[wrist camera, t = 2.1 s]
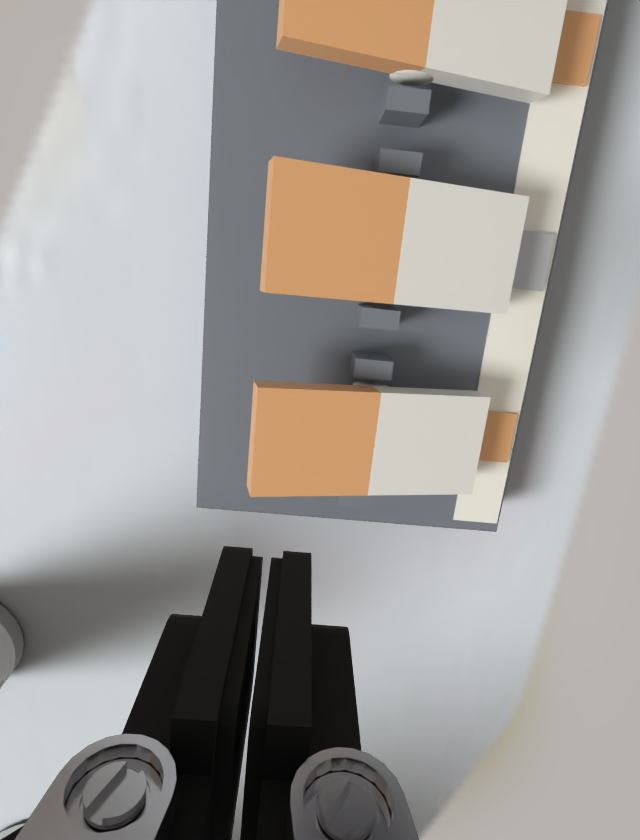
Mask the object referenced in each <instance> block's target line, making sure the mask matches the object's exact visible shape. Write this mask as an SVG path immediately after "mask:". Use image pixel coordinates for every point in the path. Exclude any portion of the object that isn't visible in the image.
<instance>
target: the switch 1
mask: <svg viewBox="0 0 640 840" xmlns="http://www.w3.org/2000/svg"><path fill="white" fill-rule="evenodd" d="M567 1H568V0H279V13H278V28H277V43H276V49H277V50H281V51H286V52H291V53H296V54H300V55H305V56H310V57H314V58H319V59H324V60H328V61H333V62H338V63H342V64H347V65H352V66H356V67H361V68H366V69H371V70H375V71H380V72H385V73H389V74H390V76H389V77H390V79H391V80H392V81H393V82H395V83H398V84H402V85H407V86H422V85H427V84H429V83H436V84H441V85H446V86H450V87H455V88H460V89H464V90H469V91H474V92H478V93H483V94H488V95H492V96H497V97H502V98H507V99H511V100H516V101H521V102H525V103H531V102H534V101H536V100H538V99H541V98H543V97H545V96H547V95H549V94H550V89H551V83H552V78H553V73H554V68H555V63H556V58H557V52H558V47H559V42H560V37H561V32H562V26H563V21H564V16H565V11H566V6H567Z"/></svg>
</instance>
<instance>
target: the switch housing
mask: <svg viewBox="0 0 640 840" xmlns="http://www.w3.org/2000/svg"><path fill="white" fill-rule="evenodd" d="M607 5H608V0H568V1H567V6H566V11H565V16H564V21H563V26H562V32H561V37H560V42H559V47H558V52H557V58H556V63H555V68H554V73H553V78H552V83H551V89H550V94H549V95H547V96H545V97H543V98H541V99H538V100H536V101H534V102H531V103H525V102H521V101H516V100H511V99H507V98H502V97H497V96H492V95H488V94H483V93H478V92H474V91H469V90H464V89H460V88H455V87H450V86H446V85H441V84H436V83H429V84H427V85H422V86H407V85H402V84H398V83H395V82H393V81H392V80H391V79H390V77H389V76H390V74H389V73H385V72H380V71H375V70H371V69H366V68H361V67H356V66H352V65H347V64H342V63H338V62H333V61H328V60H324V59H319V58H314V57H310V56H305V55H300V54H296V53H291V52H286V51H281V50H277V49H276V43H277V28H278V13H279V0H217V10H216V35H215V60H214V85H213V110H212V135H211V160H210V185H209V210H208V235H207V260H206V285H205V309H204V334H203V359H202V384H201V409H200V434H199V459H198V484H197V507H199V508H211V509H224V510H236V511H248V512H260V513H273V514H285V515H297V516H309V517H322V518H334V519H346V520H358V521H371V522H383V523H395V524H407V525H420V526H432V527H444V528H456V529H469V530H481V531H493V532H496V531H497V526H498V521H499V517H500V512H501V507H502V502H503V498H504V493H505V488H506V483H507V479H508V474H509V469H510V464H511V460H512V455H513V450H514V445H515V441H516V436H517V431H518V426H519V422H520V417H521V412H522V408H523V403H524V398H525V393H526V389H527V384H528V379H529V374H530V370H531V365H532V360H533V355H534V351H535V346H536V341H537V336H538V332H539V327H540V322H541V317H542V313H543V308H544V303H545V298H546V294H547V289H548V284H549V280H550V275H551V270H552V265H553V261H554V256H555V251H556V246H557V242H558V237H559V232H560V227H561V223H562V218H563V213H564V208H565V204H566V199H567V194H568V189H569V185H570V180H571V175H572V170H573V166H574V161H575V156H576V152H577V147H578V142H579V137H580V133H581V128H582V123H583V118H584V114H585V109H586V104H587V99H588V95H589V90H590V85H591V80H592V76H593V71H594V66H595V61H596V57H597V52H598V47H599V42H600V38H601V33H602V28H603V24H604V19H605V14H606V9H607ZM273 156H278V157H284V158H291V159H297V160H303V161H310V162H316V163H322V164H328V165H335V166H341V167H347V168H353V169H360V170H366V171H372V172H378V173H385V174H391V175H397V176H404V177H410V178H416V179H422V180H429V181H435V182H441V183H447V184H454V185H460V186H466V187H473V188H479V189H485V190H491V191H498V192H504V193H510V194H516V195H523V196H529V202H528V208H527V213H526V218H525V223H524V228H523V233H522V239H521V244H520V249H519V254H518V259H517V265H516V270H515V275H514V280H513V285H512V290H511V296H510V301H509V306H508V311H507V314H496V313H485V312H474V311H463V310H452V309H441V308H430V307H419V306H407V305H396V304H385V303H374V302H363V301H352V300H341V299H330V298H319V297H308V296H297V295H285V294H274V293H264V292H262V291H260V280H261V265H262V250H263V235H264V220H265V205H266V191H267V176H268V162H269V161H270V160H271V158H272V157H273ZM254 381H274V382H296V383H318V384H340V385H353V383H354V382H373V383H379V384H383V385H386V386H389V387H405V388H427V389H449V390H471V391H478V392H480V393H482V394H485V395H487V396H489V397H491V399H490V404H489V409H488V415H487V420H486V425H485V430H484V435H483V441H482V446H481V451H480V456H479V461H478V466H477V472H476V477H475V482H474V487H473V492H472V494H453V495H371V496H289V497H250V495H249V491H248V488H247V472H248V458H249V443H250V428H251V413H252V398H253V383H254Z"/></svg>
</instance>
